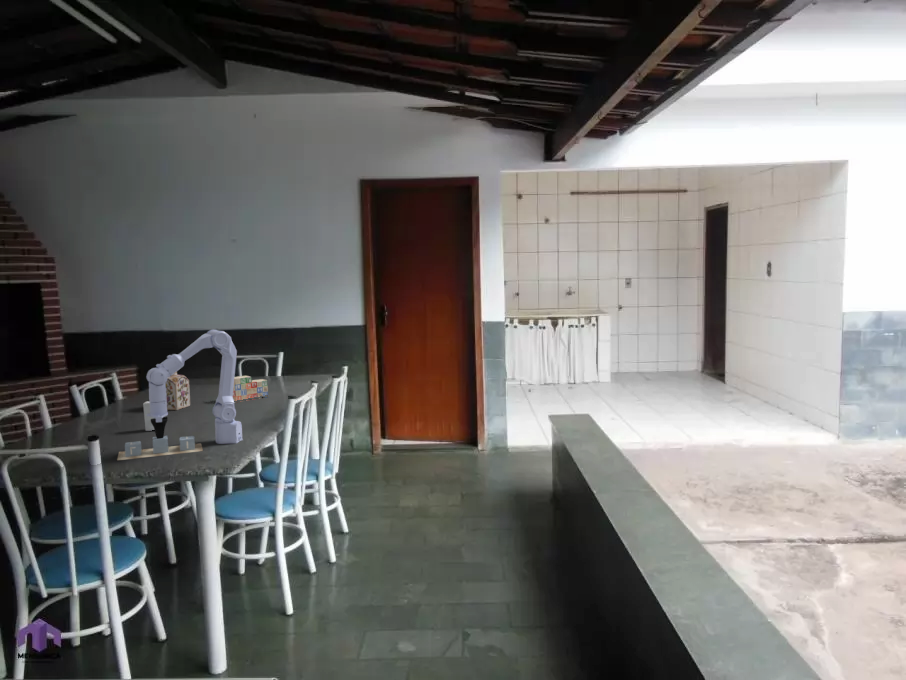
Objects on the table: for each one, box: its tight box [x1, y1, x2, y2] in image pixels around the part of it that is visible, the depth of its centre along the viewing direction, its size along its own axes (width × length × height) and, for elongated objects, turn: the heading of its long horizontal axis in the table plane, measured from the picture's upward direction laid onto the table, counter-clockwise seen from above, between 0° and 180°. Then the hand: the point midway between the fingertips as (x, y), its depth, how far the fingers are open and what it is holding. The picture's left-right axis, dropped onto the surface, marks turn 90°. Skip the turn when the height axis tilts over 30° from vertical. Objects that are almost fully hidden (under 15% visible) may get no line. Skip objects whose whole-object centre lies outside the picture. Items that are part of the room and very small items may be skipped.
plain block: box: [152, 435, 169, 454], centre depth 239 cm, size 5×5×5 cm
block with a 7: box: [124, 440, 142, 457], centre depth 235 cm, size 5×5×4 cm
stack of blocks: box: [233, 375, 269, 401], centre depth 344 cm, size 21×6×12 cm, turn 134°
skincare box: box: [142, 401, 155, 432], centre depth 276 cm, size 6×4×12 cm
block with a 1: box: [179, 435, 196, 451], centre depth 242 cm, size 5×5×4 cm
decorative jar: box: [165, 371, 191, 411], centre depth 323 cm, size 12×12×18 cm
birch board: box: [116, 443, 203, 461], centre depth 239 cm, size 28×12×1 cm, turn 114°
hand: (160, 437), depth 238 cm, fingers closed
